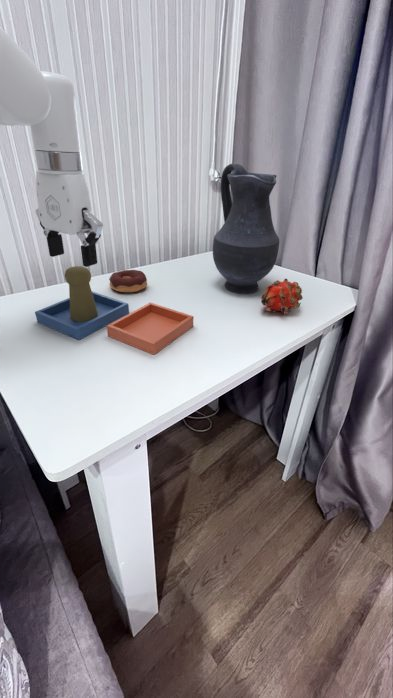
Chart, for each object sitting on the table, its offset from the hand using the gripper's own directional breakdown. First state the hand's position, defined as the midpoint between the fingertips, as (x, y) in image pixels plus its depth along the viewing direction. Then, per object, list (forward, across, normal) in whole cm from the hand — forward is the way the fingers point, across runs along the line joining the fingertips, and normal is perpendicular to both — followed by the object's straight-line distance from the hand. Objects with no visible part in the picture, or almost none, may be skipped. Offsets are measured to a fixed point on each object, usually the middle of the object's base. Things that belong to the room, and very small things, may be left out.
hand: (73, 259), depth 67 cm
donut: (+13, -4, +20) cm, 24 cm away
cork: (+13, 0, +1) cm, 13 cm away
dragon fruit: (+13, +35, +31) cm, 48 cm away
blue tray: (+13, 0, +1) cm, 13 cm away
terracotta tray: (+13, +16, +5) cm, 21 cm away
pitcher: (+12, +19, +40) cm, 46 cm away
